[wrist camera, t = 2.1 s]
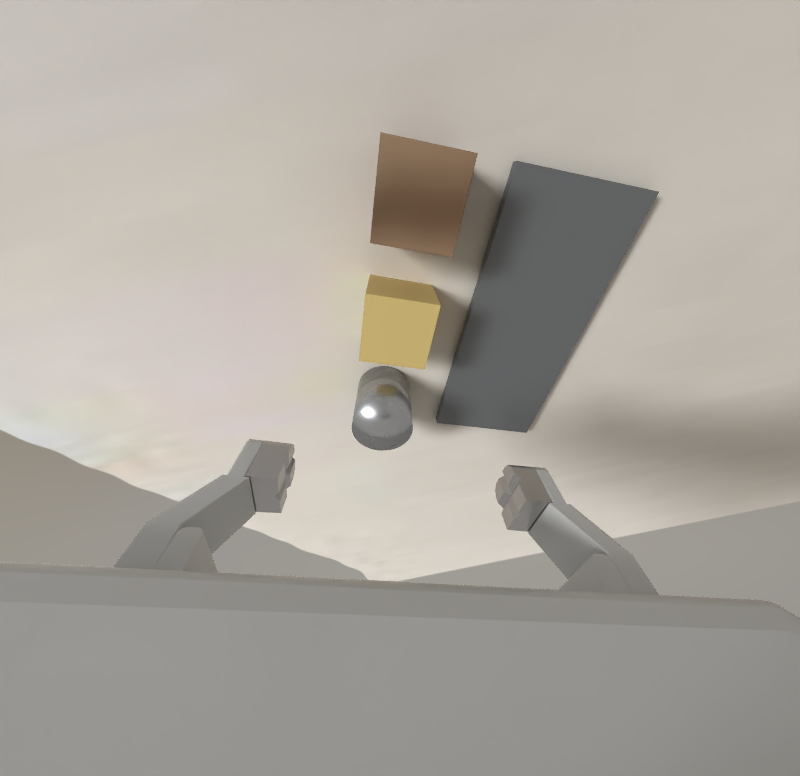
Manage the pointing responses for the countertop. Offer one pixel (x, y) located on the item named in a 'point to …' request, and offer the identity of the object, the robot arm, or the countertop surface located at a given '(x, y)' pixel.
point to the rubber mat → (537, 291)
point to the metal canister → (383, 409)
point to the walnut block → (420, 194)
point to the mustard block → (398, 322)
